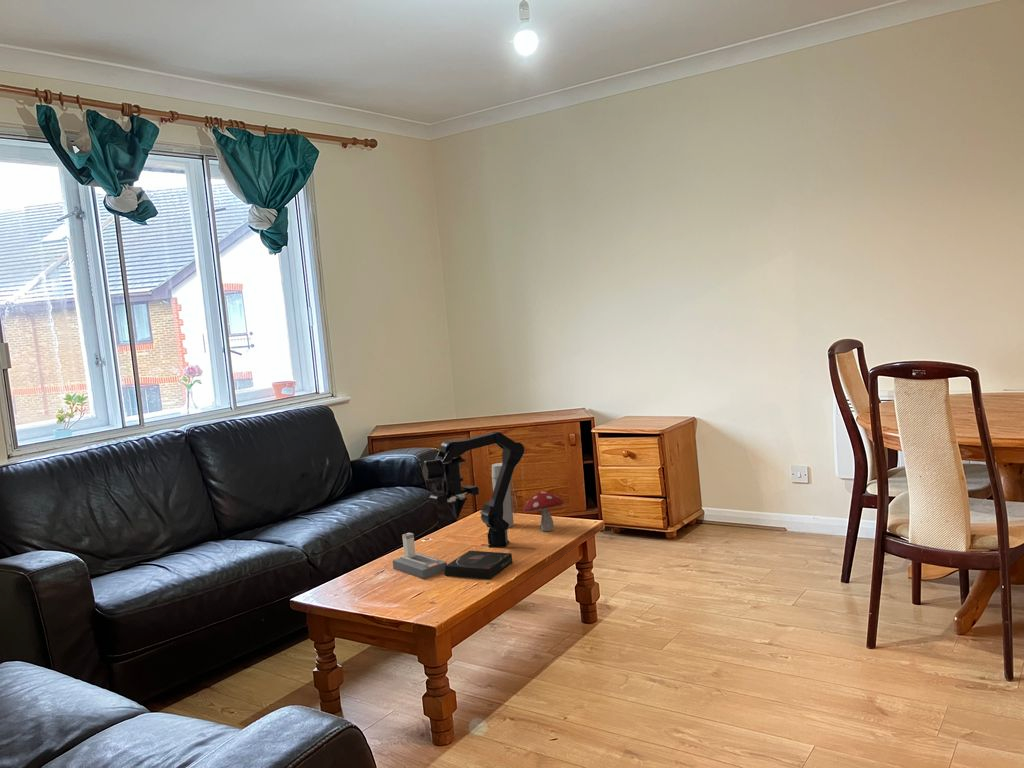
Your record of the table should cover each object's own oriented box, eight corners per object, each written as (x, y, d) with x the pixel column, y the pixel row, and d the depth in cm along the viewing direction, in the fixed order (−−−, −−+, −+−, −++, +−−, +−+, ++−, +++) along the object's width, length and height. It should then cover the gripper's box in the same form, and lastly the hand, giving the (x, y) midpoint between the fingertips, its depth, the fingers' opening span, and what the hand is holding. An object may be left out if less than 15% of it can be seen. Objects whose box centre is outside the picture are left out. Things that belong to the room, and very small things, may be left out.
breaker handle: (411, 554, 279) (409, 532, 278) (415, 556, 277) (413, 533, 276) (404, 557, 277) (401, 534, 276) (408, 558, 275) (406, 536, 274)
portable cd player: (469, 561, 279) (468, 550, 279) (512, 564, 271) (511, 553, 271) (444, 577, 265) (443, 565, 264) (490, 581, 257) (489, 569, 256)
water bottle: (494, 529, 316) (488, 466, 314) (497, 523, 324) (492, 462, 321) (517, 528, 314) (511, 465, 312) (520, 522, 322) (515, 461, 320)
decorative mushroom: (520, 536, 303) (516, 497, 302) (531, 524, 318) (528, 487, 317) (560, 536, 298) (557, 497, 297) (570, 524, 313) (567, 487, 312)
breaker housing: (417, 560, 283) (416, 549, 283) (447, 570, 270) (446, 559, 269) (393, 568, 277) (392, 557, 276) (423, 579, 263) (422, 567, 263)
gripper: (459, 468, 297) (463, 509, 298) (418, 478, 285) (422, 521, 286) (478, 471, 288) (482, 513, 290) (436, 481, 276) (440, 526, 278)
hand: (456, 518), depth 286 cm, fingers closed
